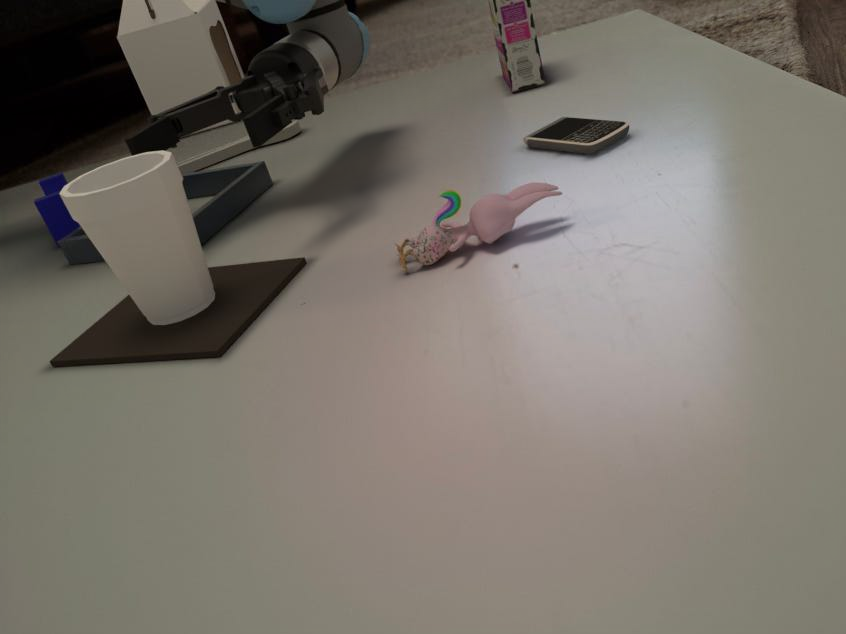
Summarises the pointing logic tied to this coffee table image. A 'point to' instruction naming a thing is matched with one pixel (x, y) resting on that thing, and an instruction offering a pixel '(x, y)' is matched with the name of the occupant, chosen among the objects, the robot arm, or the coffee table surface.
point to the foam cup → (145, 233)
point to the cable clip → (55, 207)
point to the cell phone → (577, 135)
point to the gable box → (177, 51)
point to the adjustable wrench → (232, 150)
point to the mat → (193, 337)
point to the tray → (232, 197)
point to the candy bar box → (516, 43)
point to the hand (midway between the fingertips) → (190, 143)
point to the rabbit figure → (473, 221)
